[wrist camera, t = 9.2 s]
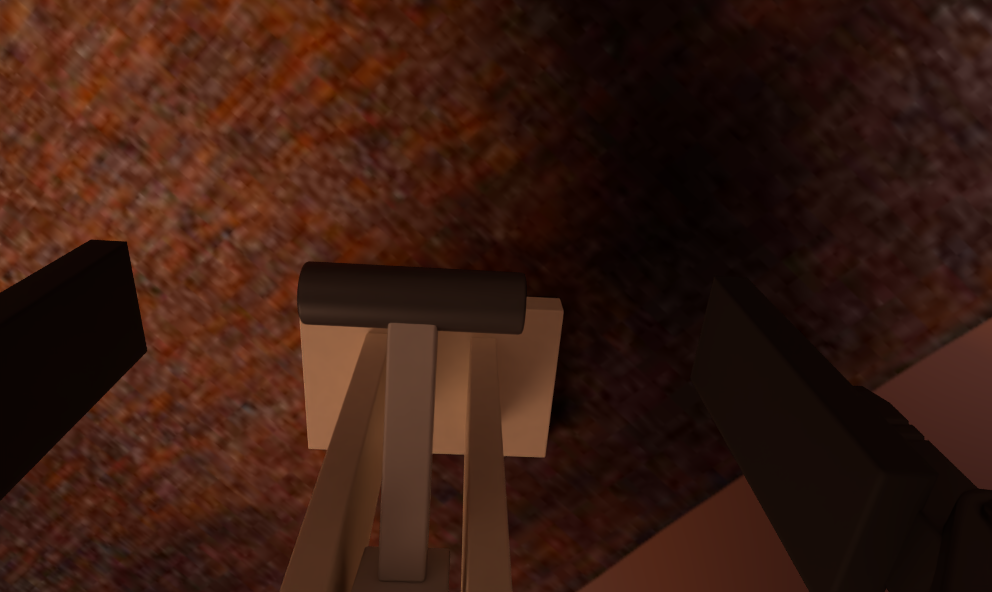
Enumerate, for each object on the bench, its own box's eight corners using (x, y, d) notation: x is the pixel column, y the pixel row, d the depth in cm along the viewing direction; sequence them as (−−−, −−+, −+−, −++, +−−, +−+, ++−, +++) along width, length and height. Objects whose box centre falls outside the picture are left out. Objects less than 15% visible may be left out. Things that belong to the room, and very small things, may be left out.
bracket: (305, 284, 24) (124, 579, 12) (560, 298, 25) (646, 591, 12) (314, 431, 27) (177, 793, 15) (542, 440, 28) (598, 795, 15)
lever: (317, 259, 15) (290, 263, 13) (520, 270, 16) (530, 276, 13) (306, 646, 16) (280, 717, 14) (497, 650, 17) (503, 719, 14)
